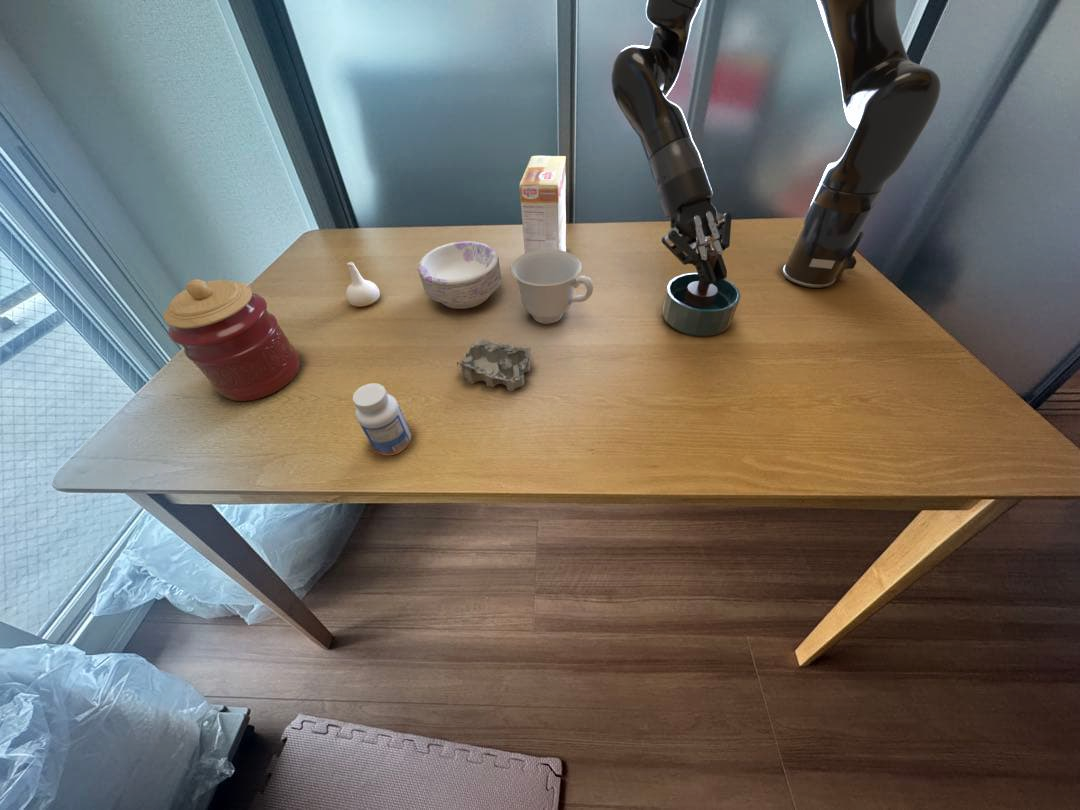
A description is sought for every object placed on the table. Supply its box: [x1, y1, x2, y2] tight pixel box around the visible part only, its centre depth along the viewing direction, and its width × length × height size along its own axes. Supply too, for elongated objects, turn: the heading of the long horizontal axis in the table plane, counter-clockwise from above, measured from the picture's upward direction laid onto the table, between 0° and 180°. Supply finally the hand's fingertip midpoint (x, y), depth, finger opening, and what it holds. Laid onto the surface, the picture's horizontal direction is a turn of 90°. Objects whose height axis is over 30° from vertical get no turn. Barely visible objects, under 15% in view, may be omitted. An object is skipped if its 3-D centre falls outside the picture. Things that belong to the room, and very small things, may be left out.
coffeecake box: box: [518, 155, 567, 254], centre depth 83 cm, size 15×7×20 cm, turn 172°
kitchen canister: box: [163, 279, 301, 402], centre depth 63 cm, size 13×13×18 cm
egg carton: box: [456, 339, 532, 392], centre depth 66 cm, size 11×8×4 cm
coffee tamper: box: [685, 250, 719, 307], centre depth 70 cm, size 5×5×8 cm
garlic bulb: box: [345, 261, 381, 307], centre depth 81 cm, size 6×6×8 cm
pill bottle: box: [352, 382, 412, 456], centre depth 55 cm, size 6×5×10 cm
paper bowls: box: [417, 240, 502, 310], centre depth 81 cm, size 15×15×8 cm
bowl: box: [661, 272, 742, 337], centre depth 73 cm, size 12×12×6 cm
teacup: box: [510, 249, 594, 325], centre depth 74 cm, size 12×15×10 cm
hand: (715, 281), depth 68 cm, fingers closed on coffee tamper
